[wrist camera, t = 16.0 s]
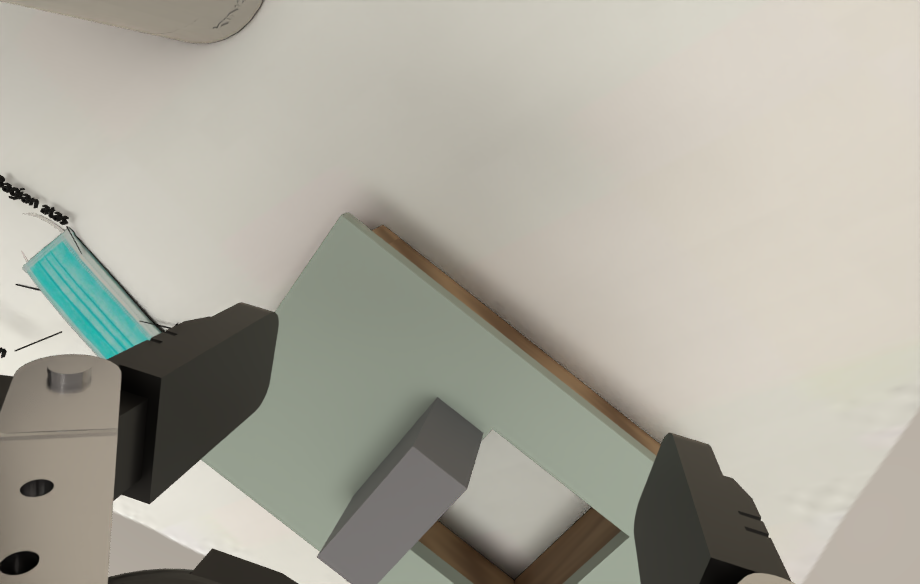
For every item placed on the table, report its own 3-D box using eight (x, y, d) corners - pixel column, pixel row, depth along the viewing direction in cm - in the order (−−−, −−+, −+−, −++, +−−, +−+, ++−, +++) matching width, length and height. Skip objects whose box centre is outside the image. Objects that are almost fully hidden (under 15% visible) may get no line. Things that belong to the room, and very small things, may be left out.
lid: (194, 437, 35) (121, 496, 30) (348, 212, 30) (295, 232, 24) (512, 684, 36) (500, 789, 30) (719, 506, 31) (753, 592, 25)
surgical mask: (-98, 305, 38) (-72, 165, 35) (-33, 288, 43) (-5, 160, 39) (177, 467, 38) (230, 339, 35) (216, 433, 42) (266, 316, 39)
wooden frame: (257, 399, 40) (215, 436, 35) (383, 224, 35) (353, 240, 30) (517, 601, 40) (509, 665, 36) (675, 455, 36) (690, 506, 31)
